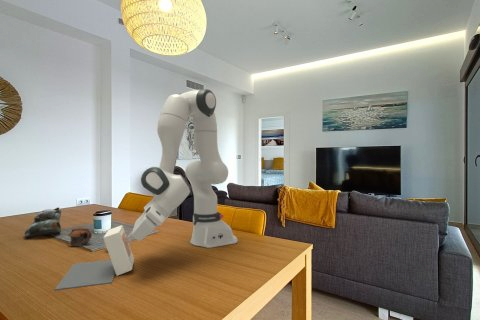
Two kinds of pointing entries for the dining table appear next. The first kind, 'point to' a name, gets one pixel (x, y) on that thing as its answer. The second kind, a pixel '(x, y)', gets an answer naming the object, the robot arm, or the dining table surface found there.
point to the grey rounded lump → (45, 223)
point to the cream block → (119, 250)
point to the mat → (88, 274)
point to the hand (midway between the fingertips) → (126, 240)
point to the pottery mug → (79, 237)
